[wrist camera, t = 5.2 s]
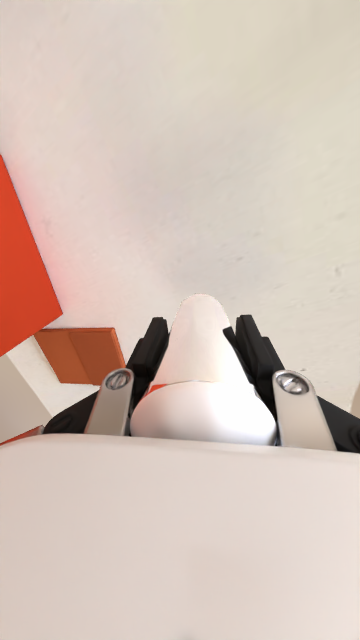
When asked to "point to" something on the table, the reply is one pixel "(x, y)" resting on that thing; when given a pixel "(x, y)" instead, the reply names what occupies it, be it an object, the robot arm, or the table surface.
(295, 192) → the table surface
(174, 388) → the milkshake
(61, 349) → the cloth
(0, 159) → the file binder
